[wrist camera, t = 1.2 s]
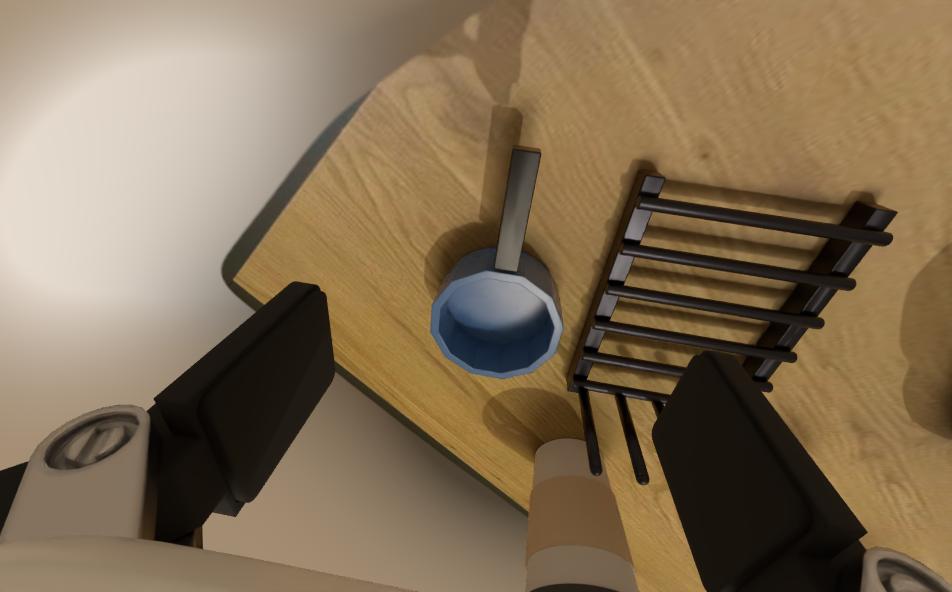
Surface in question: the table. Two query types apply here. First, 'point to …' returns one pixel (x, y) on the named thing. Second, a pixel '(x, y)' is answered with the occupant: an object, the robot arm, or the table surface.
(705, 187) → the table surface
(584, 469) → the coffee cup
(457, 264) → the saucepan
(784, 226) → the dish rack
